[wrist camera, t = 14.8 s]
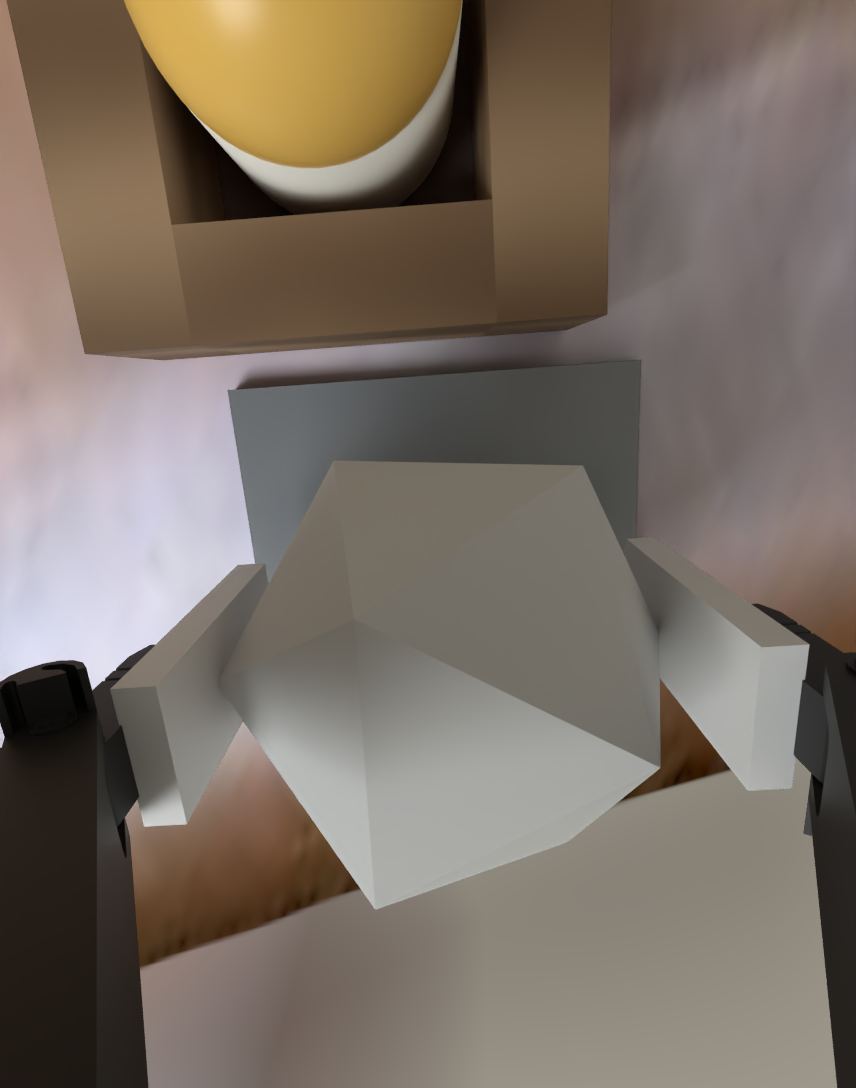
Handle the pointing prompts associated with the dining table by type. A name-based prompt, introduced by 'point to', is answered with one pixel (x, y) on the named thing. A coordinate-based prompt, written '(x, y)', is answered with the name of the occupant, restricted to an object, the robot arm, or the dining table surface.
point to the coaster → (436, 435)
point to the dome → (314, 90)
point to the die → (451, 668)
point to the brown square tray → (321, 238)
